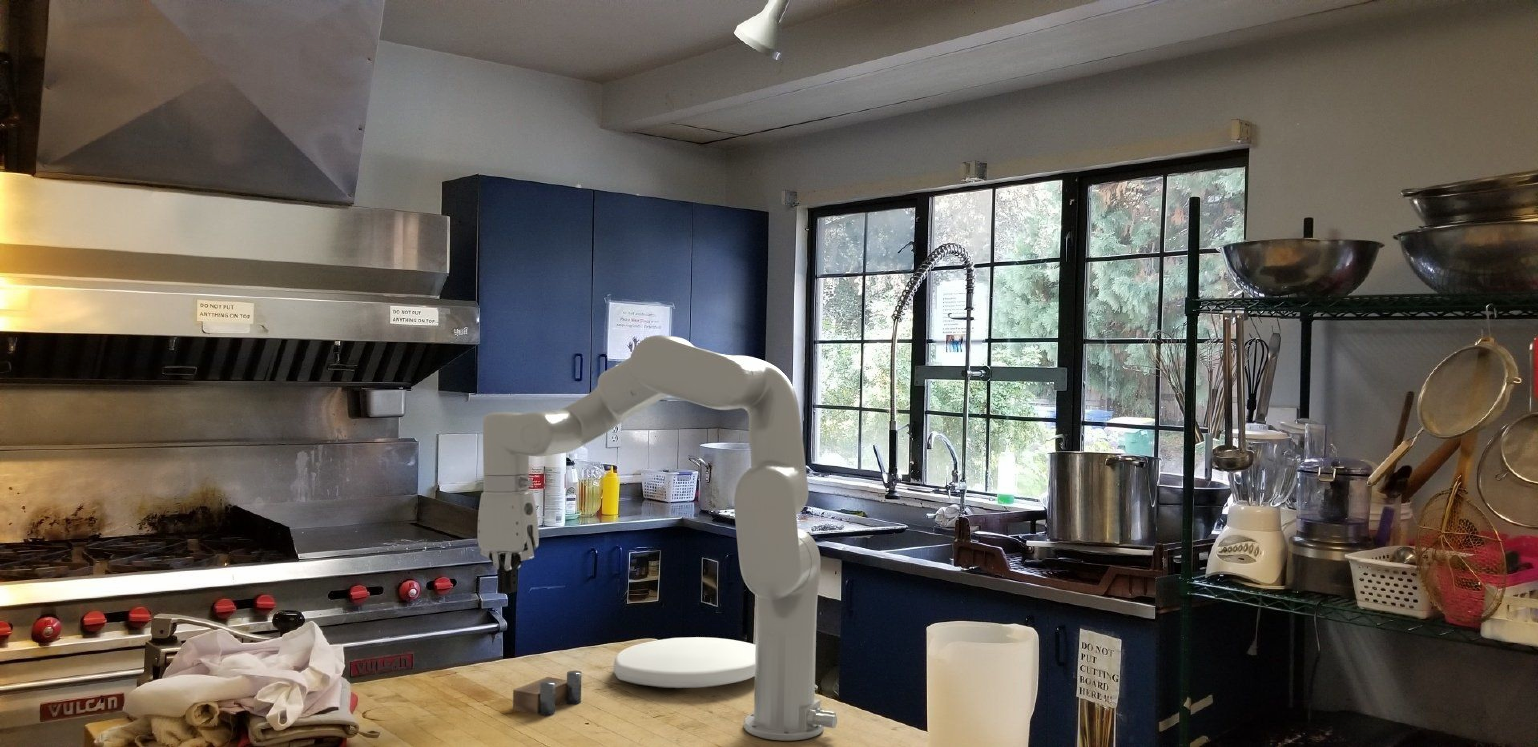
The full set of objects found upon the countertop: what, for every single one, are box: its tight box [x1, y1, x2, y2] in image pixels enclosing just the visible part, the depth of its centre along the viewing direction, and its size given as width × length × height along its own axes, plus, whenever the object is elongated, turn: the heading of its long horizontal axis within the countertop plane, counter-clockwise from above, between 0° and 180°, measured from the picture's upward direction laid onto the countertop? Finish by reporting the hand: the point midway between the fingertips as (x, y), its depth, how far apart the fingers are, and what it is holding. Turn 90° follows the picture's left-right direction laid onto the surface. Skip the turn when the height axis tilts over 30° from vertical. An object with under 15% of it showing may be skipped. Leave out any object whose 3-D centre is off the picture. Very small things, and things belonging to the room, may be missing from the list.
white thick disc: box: [613, 636, 755, 689], centre depth 201 cm, size 28×6×27 cm
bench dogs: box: [539, 670, 582, 717], centre depth 181 cm, size 2×9×5 cm, turn 153°
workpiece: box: [512, 676, 567, 715], centre depth 183 cm, size 5×9×4 cm, turn 153°
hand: (507, 592), depth 187 cm, fingers closed
